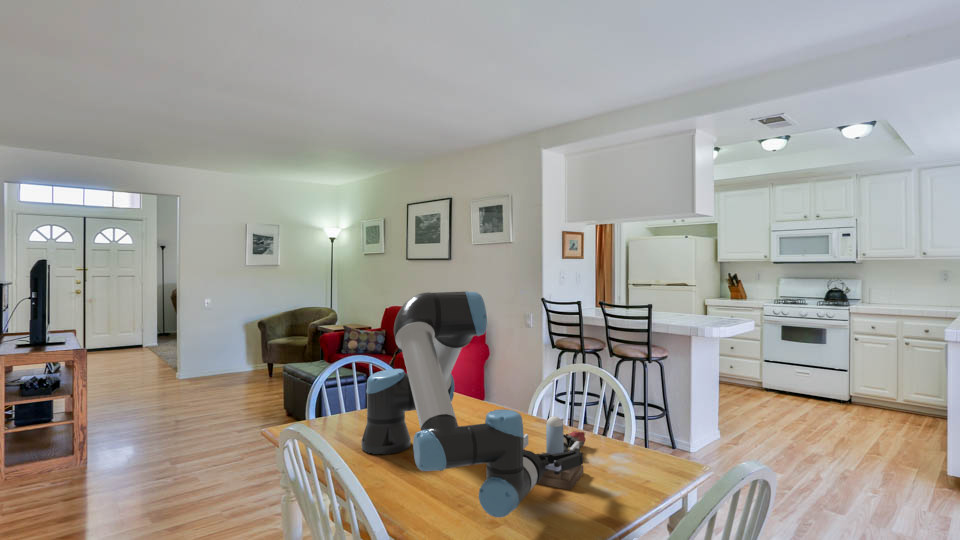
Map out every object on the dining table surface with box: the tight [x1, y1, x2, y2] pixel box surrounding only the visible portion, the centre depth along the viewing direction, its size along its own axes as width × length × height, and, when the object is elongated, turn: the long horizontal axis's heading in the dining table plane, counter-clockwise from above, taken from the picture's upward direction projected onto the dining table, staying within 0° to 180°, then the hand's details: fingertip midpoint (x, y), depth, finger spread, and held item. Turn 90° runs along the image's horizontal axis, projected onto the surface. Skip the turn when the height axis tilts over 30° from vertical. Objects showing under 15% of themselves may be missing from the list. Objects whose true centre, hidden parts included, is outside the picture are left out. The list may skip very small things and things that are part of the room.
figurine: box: [563, 430, 586, 452], centre depth 153 cm, size 7×17×7 cm, turn 150°
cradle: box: [536, 451, 584, 491], centre depth 135 cm, size 12×12×4 cm
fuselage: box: [545, 415, 564, 459], centre depth 135 cm, size 4×4×14 cm
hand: (551, 442), depth 132 cm, fingers open, 13 cm apart
